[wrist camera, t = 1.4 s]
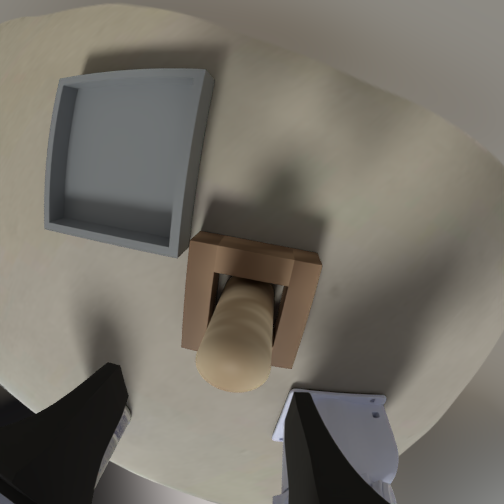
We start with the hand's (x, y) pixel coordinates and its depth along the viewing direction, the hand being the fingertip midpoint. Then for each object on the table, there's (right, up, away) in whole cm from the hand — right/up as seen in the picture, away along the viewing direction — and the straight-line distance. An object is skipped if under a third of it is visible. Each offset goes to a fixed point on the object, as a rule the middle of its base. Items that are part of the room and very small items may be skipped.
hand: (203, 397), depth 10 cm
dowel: (+2, +3, +10) cm, 11 cm away
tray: (-7, +13, +8) cm, 17 cm away
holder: (+2, +3, +10) cm, 11 cm away
